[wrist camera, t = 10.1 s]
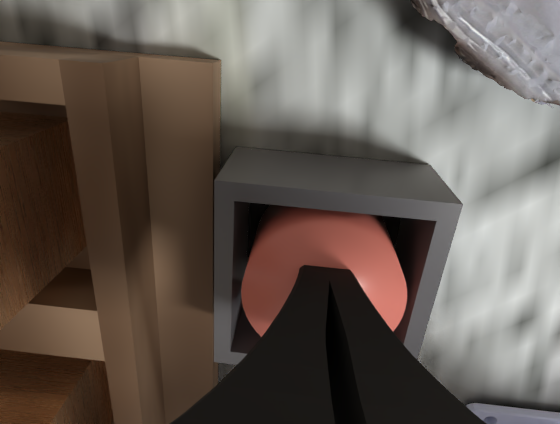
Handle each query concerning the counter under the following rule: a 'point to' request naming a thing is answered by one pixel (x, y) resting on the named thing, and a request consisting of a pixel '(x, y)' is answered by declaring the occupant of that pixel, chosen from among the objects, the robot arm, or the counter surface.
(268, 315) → the button
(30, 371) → the block
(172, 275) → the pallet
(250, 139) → the counter surface
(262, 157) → the button housing
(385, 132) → the counter surface
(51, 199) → the block
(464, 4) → the food plate
